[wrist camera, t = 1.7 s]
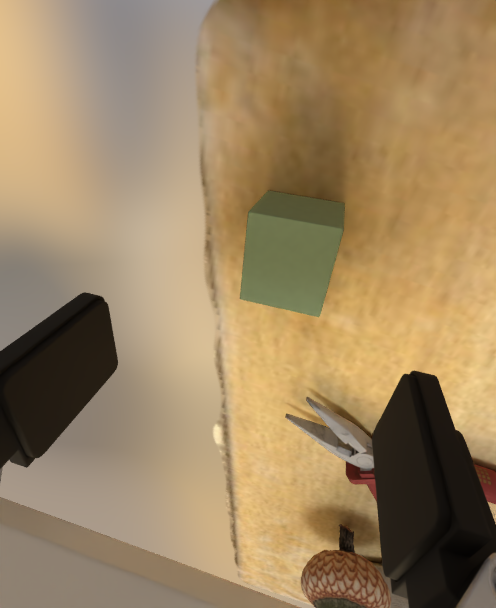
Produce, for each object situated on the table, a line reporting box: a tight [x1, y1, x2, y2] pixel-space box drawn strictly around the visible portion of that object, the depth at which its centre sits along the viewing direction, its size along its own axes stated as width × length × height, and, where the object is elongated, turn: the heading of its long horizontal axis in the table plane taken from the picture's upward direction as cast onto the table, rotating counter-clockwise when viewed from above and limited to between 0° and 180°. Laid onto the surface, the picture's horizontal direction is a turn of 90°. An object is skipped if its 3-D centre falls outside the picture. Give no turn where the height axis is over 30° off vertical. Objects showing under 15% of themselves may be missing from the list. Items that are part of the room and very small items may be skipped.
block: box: [240, 191, 345, 317], centre depth 18 cm, size 4×5×4 cm
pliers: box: [286, 397, 496, 504], centre depth 27 cm, size 12×20×3 cm, turn 58°
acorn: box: [301, 524, 391, 608], centre depth 31 cm, size 8×8×10 cm
